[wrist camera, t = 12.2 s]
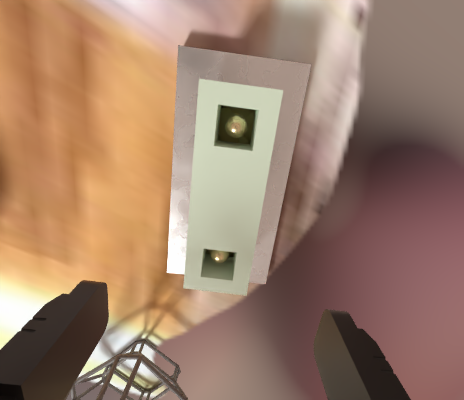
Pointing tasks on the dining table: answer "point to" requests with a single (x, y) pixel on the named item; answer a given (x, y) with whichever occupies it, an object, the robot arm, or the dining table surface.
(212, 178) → the bar
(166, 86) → the dining table surface
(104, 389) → the geometric lantern
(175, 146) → the board with brass pegs
